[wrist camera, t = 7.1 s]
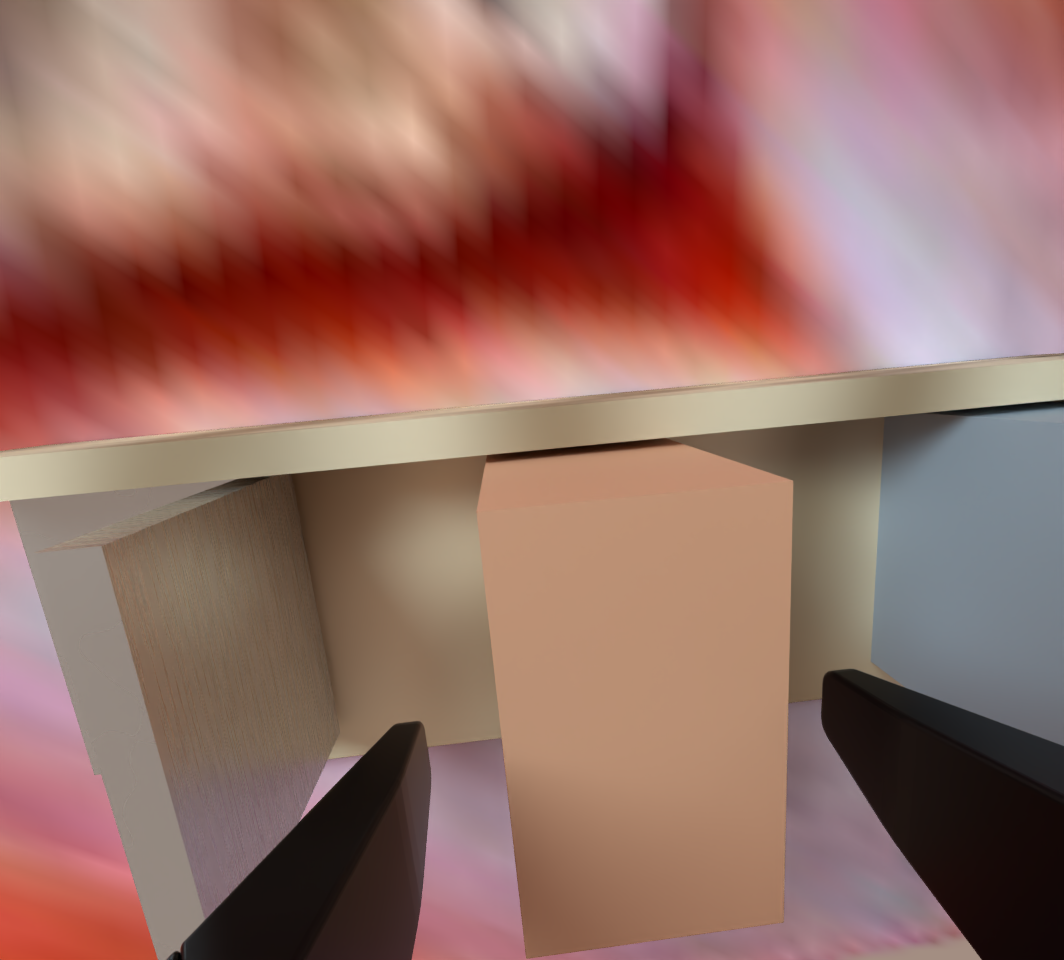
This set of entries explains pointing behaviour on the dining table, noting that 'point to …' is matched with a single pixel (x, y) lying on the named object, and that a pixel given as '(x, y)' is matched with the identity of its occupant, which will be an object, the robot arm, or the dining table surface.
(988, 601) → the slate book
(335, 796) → the robot arm
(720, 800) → the terracotta book
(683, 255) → the dining table surface
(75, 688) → the bookend
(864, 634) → the beige piece
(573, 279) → the dining table surface
